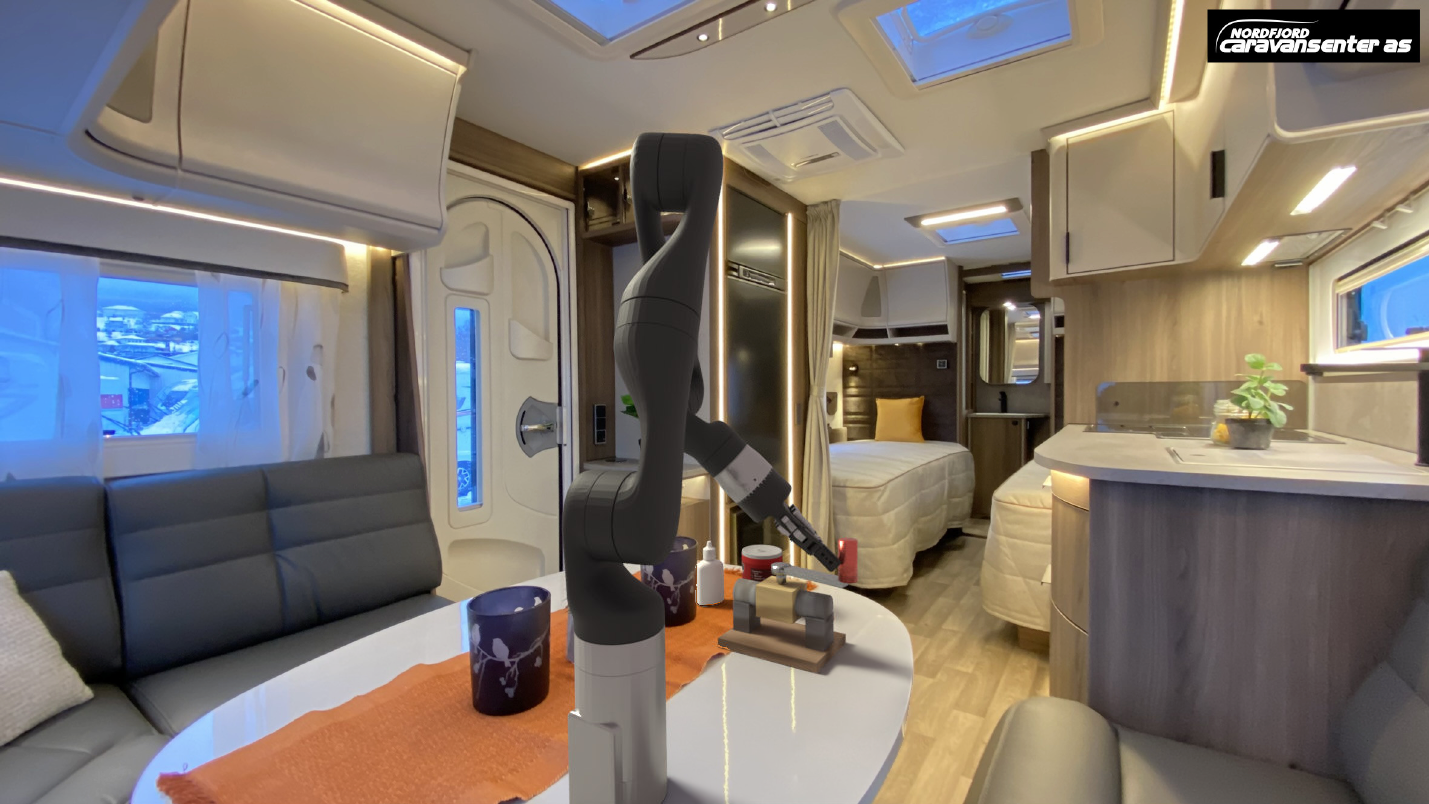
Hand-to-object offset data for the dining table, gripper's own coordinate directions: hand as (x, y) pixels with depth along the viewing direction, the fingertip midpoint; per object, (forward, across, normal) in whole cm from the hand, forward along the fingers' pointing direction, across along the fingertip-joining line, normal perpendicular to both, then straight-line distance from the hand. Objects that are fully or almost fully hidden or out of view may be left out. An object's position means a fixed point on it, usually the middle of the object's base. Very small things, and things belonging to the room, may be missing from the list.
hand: (835, 566), depth 86 cm
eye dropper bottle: (-2, +28, +25) cm, 37 cm away
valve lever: (+2, +5, +5) cm, 7 cm away
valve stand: (+6, +8, +16) cm, 19 cm away
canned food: (+5, +25, +18) cm, 31 cm away
